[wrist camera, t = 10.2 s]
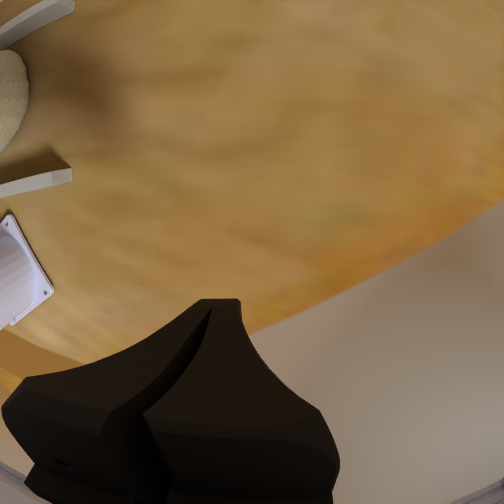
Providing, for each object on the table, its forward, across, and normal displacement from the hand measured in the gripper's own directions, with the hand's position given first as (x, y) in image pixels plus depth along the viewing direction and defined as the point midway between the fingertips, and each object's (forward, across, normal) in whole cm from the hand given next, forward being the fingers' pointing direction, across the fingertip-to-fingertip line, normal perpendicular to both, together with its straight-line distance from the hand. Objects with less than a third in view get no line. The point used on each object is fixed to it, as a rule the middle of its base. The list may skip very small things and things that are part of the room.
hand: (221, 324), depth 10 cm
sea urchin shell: (+10, +20, -13) cm, 26 cm away
